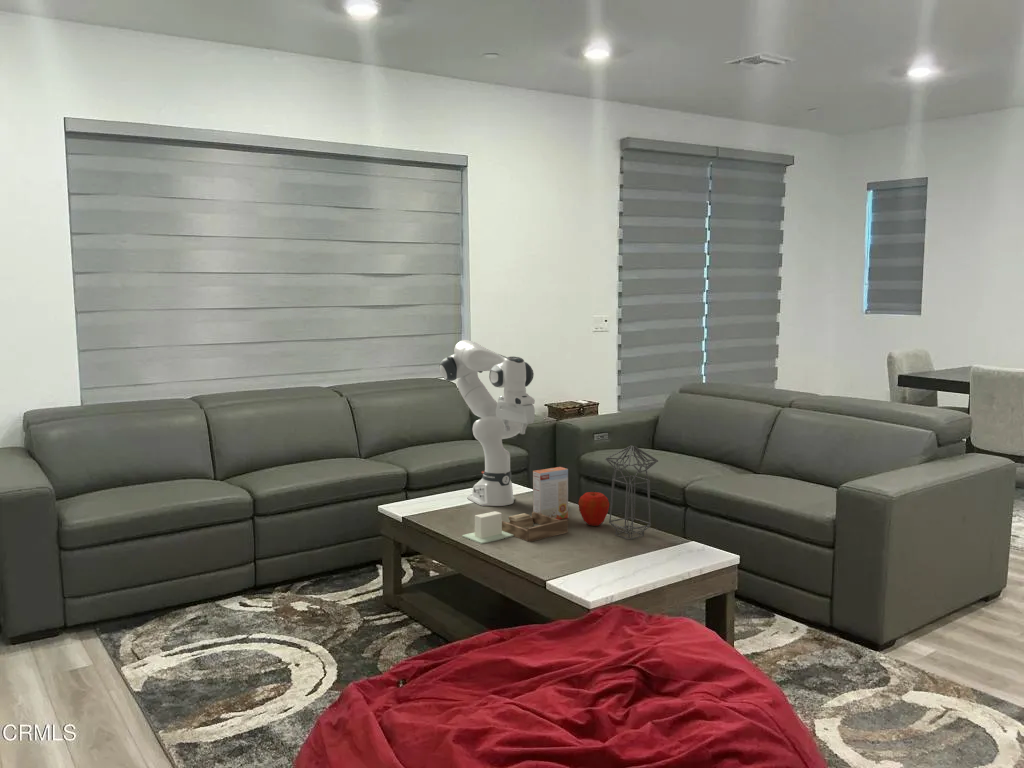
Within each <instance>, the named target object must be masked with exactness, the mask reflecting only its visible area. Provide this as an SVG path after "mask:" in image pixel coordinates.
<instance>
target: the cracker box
mask: <svg viewBox="0 0 1024 768" xmlns="http://www.w3.org/2000/svg"><path fill="white" fill-rule="evenodd" d="M532 497H533V498H532V501H533V502H532V504H533V505H532V508H533V509H532V512H537V513H540V514H543V515H546V516H549V517H552V518H555V519H559V520H565V519H566V520H567V519H568V518H569V468H565V467H563V466H557V467H550V468H545V469H544V468H543V469H537V470H532Z"/></svg>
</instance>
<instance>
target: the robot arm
mask: <svg viewBox="0 0 1024 768" xmlns="http://www.w3.org/2000/svg"><path fill="white" fill-rule="evenodd" d="M453 351H454V353H453V354H451V355H449V356H446V357H445V358H443V359H442V360H440V362H439V364H438V369H439V372H440V375H441V376H442V378H443V379H444V380H445V381H447V382H452V381H456V386H457V389H458V391H459V393H460V395H461V397H462V398H463V400H464V402H465V403H466V405H467V406H468V408H469V409H470V411H471V412H472V414H473V415H474V416H477V417H478V419H476V420H475V421H474V422H473V424H472V430H471V431H472V434H473V437H474V438H475V440H477V441H478V442H479V443H480V445H481V446H482V449H483V455H484V470H482V471H481V474H482V477H481V479H479V481H478V482H476V483H475V484H474V485H473V487H472V494H470V495H467V496H466V498H467V500H470V501H471V502H473V503H475V504H477V505H479V506H483V507H484V506H489V507H490V506H491V507H502V506H508V505H512V504H514V500H515V499H516V498H515V496H514V493H513V492H514V491H513V490H514V489H513V482H512V481H511V480H512V471H511V453H510V452H509V450H507V449H505V448H504V445H503V440H506V439H510V438H514V437H515V436H517V435H519V434H520V435H525V434H526V431H527V427H528V425H530V424H533V423H534V422H535V419H536V415H535V414H536V413H535V412H536V410H535V406H534V404H535V402H536V401H535V398H534V397H532V396H531V395H529V393H527V389H526V387H528V386H529V385H531V383H532V381H533V379H534V375H535V374H534V370H533V368H532V366H531V365H530V364H529V363H528V362H526V361H525V360H524V358H522V357H520V356H506V355H502V354H499V353H497V352H494V351H493V350H490V349H489V348H486V347H485V346H483V345H481V344H479V343H477V342H475V341H473V340H470V339H469V340H468V339H461V340H459V342H457V343H456V344H455V346H454V350H453ZM483 372H489V376H488V377H489V381H490V383H491V385H492V386H493V387H495V388H499V389H500V388H503V395H500V396H499V397H498V399H497V401H496V400H495V398H494V397H493V396H492V394H491V393H490V391H488V389H487V387H486V386H485V385H484V383H483V382H482V381H481V379H480V378H479V375H478V373H480V374H481V373H483Z"/></svg>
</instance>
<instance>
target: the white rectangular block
mask: <svg viewBox="0 0 1024 768" xmlns="http://www.w3.org/2000/svg"><path fill="white" fill-rule="evenodd" d="M502 521H503V513H502V512H499V511H495V510H494V511H490V512H486V513H485V512H484V513H480V514H475V515H474V532H475V536H476V537H479V538H485V537H489V536H494V535H498V534H502Z"/></svg>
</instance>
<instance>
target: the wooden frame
mask: <svg viewBox="0 0 1024 768" xmlns="http://www.w3.org/2000/svg"><path fill="white" fill-rule="evenodd" d="M531 517H533V524H538V525H536V526H533V527H529V528H522V527H519V526H516V525H513V524H510V521H508V522H507V521H505V520H502V531H505V532H507V533H510V534H513V535H514V536H513V537H514V538H517V539H520V540H523V541H526V542H529V543H530V542H535V541H540V540H543V539H547V538H551V537H555V536H559V535H563V534H567V533H568V532H569V520H568V519H567V518H566V519H560V520H559V519H555V518H552V517H549V516H546V515H543V514H540V513H537V512H533V511H532V512H531Z"/></svg>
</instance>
